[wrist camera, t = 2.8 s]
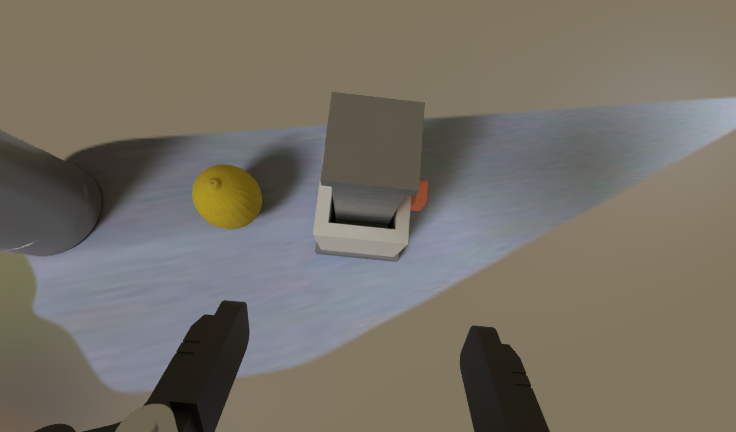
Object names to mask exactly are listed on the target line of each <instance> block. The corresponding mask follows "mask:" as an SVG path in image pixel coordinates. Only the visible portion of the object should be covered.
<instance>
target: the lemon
mask: <svg viewBox="0 0 736 432" xmlns="http://www.w3.org/2000/svg"><path fill="white" fill-rule="evenodd" d="M192 196H193V201H194V204H195V207H196V209H197V211H198V212H199V213H200V215H201V216H202V217H203V218H204V219H205V220H206V221H208V222H209V223H210V224H212V225H215V226H217V227H219V228H224V229H238V228H241V227H244V226H246V225H248V224H249V223H251V222H252V221H253V220H254V219H255V218H256V217H257V215H258V214H259V212H260V210H261V206H262V194H261V189H260V187H259V185H258V184H257V182H256V180H255V179H254V178H253V177H252V176H251V175H250V174H249V173H247V172H246V171H244V170H242V169H241V168H238V167H235V166H232V165H216V166H212V167H210V168H208V169H206V170H205V171H203V172H202V173H201V174H200V175H199V176H198V177H197V179H196V181H195V183H194V185H193V190H192Z"/></svg>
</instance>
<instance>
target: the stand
mask: <svg viewBox="0 0 736 432" xmlns="http://www.w3.org/2000/svg"><path fill="white" fill-rule="evenodd" d="M324 149H325V147H324ZM323 156H324V154H323ZM322 164H323V162H322ZM321 171H322V169H321ZM320 179H321V177H320ZM427 191H428V181H421V180H420V187H419V192H418V194H417V195H416V196H414V195H404V197H403V199H402V200H401V202H400V204H399V206H398V208H397V209H396V211H395V213H394V215H393V217H392V219H391V220H390V222H389V224H388V226H387V228H386V229H385V228H375V227H366V226H356V225H346V224H337V223H336V215H335V208H334V201H333V194H332V187H330V186H321V181H320V184H319V192H318V199H317V207H316V214H315V222H314V229H313V236H314V238H315V240H316V241H317V243H316V250H315V252H316V253H317V254H324V255H334V256H344V257H354V258H364V259H374V260H384V261H394V262H397V261H398V260H399V252H400V251H401V250H402V249H403V248H404V247H406V246H407V245H408V237H409V222H410V210H412V211H420V210H421V209H422V208H423V207H424V206H425V204H426V203H427Z"/></svg>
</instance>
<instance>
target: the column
mask: <svg viewBox="0 0 736 432" xmlns="http://www.w3.org/2000/svg"><path fill="white" fill-rule="evenodd" d="M424 104H425V103H422V102H413V101H404V100H396V99H388V98H379V97H371V96H362V95H353V94H344V93H336V92H332V97H331V104H330V111H329V119H328V126H327V134H326V141H325V149H324V156H323V164H322V171H321V179H320V181H321V186H330V187H332V194H333V201H334V208H335V215H336V223H337V224H346V225H356V226H366V227H375V228H385V229H386V228H387V226H388V224H389V222H390V220H391V219H392V217H393V215H394V213H395V211H396V209H397V208H398V206H399V204H400V202H401V200H402V199H403V197H404V195H414V196H416V195H417V194H418V192H419V187H420V171H421V154H422V138H423V121H424Z"/></svg>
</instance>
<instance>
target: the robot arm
mask: <svg viewBox="0 0 736 432" xmlns="http://www.w3.org/2000/svg"><path fill="white" fill-rule="evenodd" d="M101 205H102V202H101V193H100V190H99V187H98V185H97V183H96V182H95V180H94V179H93V178H92V177H91V176H90V175H89V174H88V173H87V172H85V171H83V170H82V169H80V168H78V167H76V166H74V165H72V164H70V163H68V162H65V161H63V160H61V159H59V158H57V157H55V156H53V155H51V154H49V153H47V152H45V151H43V150H41V149H39V148H37V147H35V146H33V145H31V144H29V143H27V142H25V141H23V140H21V139H19V138H17V137H14V136H12V135H10V134H8V133H6V132H4V131H2V130H0V251H4V252H12V253H20V254H27V255H35V256H48V255H54V254H58V253H61V252H64V251H66V250H68V249H70V248H72V247H74V246H75V245H77V244H78V243H79V242H81V241H82V240H83V239H84V238H85V237H86V236H87V235H88V234H89V233H90V232H91V230H92V229H93V227H94V226H95V224H96V222H97V220H98V217H99V215H100V211H101ZM248 341H249V322H248V312H247V304H246V303H245V302H236V301H226V300H224V301H222V302H221V304H220V306H219V307H218V309H217V311H216V313H215V315H203V316H202V317H201V318H200V319H199V320H198V321H197V322H195V323H194V324H193V325H192V326H191V328H190V329H189V331H188V333H187V334H186V336H185V338H184V340H183V343H181V345H180V346H179V348H178V350H177V353H176V354H175V355H174V357H173V358H172V360H171V362H170V363H169V365H168V367H167V369H166V370H165V372H164V374H163V375H162V377H161V379H160V381H159V382H158V384H157V386H156V387H155V389H154V391H153V393H152V394H151V396H150V398H149V399H148V401H147V402H146V403H145V404H144V406H143V407H141V408H139V409H137V410H135V411H134V412H132V413H131V414H130V415H128V416H127V417H126V418H125V419H124V420H123V421H121V422H119V423H116V424H113V425H109V426H105V427H101V428H96V429H92V430H88V431H83V432H215V429H216V427H217V424H218V421H219V419H220V416H221V413H222V411H223V408H224V406H225V403H226V401H227V398H228V395H229V393H230V390H231V388H232V385H233V383H234V380H235V377H236V375H237V372H238V370H239V367H240V364H241V362H242V359H243V357H244V354H245V351H246V349H247V345H248ZM460 369H461V374H462V379H463V383H464V387H465V392H466V396H467V401H468V405H469V410H470V413H471V419H472V423H473V427H474V431H475V432H550V431H549V429H548V426H547V424H546V421H545V419H544V416H543V414H542V412H541V409H540V406H539V404H538V401H537V399H536V396H535V394H534V392H533V389H532V388H531V384H530V382H529V379H528V377H527V376H526V372H525V369H524V367H523V364H522V362H521V359H520V357H519V356H518V355H517V354H516V352H515V351H514V350H513V349H512V348H511V346H510V345H507V344H501V342H500V339H499V336H498V334H497V331H496V329H494V328H493V327H483V326H472V327H471V328H470V330H469V333H468V335H467V338H466V341H465V343H464V346H463V348H462V351H461V355H460ZM35 432H75V430H74V429H73V428H72V427H71V426H69V425H66V424H54V425H50V426H46V427H43V428H41V429H39V430H37V431H35Z"/></svg>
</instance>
